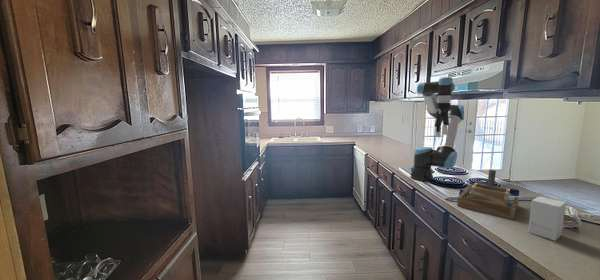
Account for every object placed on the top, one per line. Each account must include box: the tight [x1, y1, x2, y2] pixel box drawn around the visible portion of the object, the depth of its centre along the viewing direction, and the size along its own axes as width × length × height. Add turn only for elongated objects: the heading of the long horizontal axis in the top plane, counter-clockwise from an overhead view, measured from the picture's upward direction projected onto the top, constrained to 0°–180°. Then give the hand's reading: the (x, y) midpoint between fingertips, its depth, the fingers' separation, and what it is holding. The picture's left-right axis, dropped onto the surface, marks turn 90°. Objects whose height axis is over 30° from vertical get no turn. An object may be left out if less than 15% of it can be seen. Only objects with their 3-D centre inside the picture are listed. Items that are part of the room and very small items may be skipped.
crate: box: [470, 169, 511, 206], centre depth 142 cm, size 10×16×17 cm, turn 46°
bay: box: [456, 187, 519, 220], centre depth 140 cm, size 22×24×6 cm
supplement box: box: [527, 196, 567, 242], centre depth 110 cm, size 9×9×15 cm
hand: (441, 136), depth 164 cm, fingers open, 13 cm apart
